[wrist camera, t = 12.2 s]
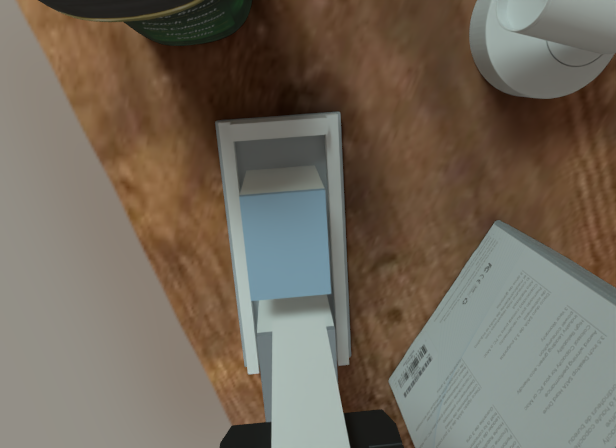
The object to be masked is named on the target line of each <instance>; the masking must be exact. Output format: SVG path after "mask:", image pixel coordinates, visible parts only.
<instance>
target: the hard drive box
mask: <svg viewBox="0 0 616 448" xmlns="http://www.w3.org/2000/svg"><path fill="white" fill-rule="evenodd" d="M389 384H390V386H391V389H392V391H393V394H394V396H395V399H396V401H397V404H398V406H399V409H400V411H401V414H402V416H403V419H404V421H405V424H406V426H407V429H408V431H409V434H410V436H411V439H412V441H413V444H414V446H415V448H616V288H615V287H613V286H612V285H610V284H608V283H607V282H605V281H603V280H602V279H600V278H599V277H597V276H595V275H594V274H592V273H591V272H589V271H587V270H586V269H584V268H583V267H581V266H579V265H578V264H576V263H575V262H573V261H572V260H570V259H568V258H566V257H565V256H563V255H561V254H560V253H558V252H556V251H554V250H553V249H551V248H549V247H547V246H546V245H544V244H542V243H540V242H538V241H537V240H535V239H533V238H531V237H529V236H528V235H526V234H524V233H522V232H520V231H519V230H517V229H515V228H513V227H511V226H510V225H508V224H506V223H504V222H502V221H500V220H497V221H495V223H494V224H493V226H492V227H491V229H490V230H489V231H488V233H487V234H486V236H485V237H484V239H483V240H482V242H481V243H480V245H479V247H478V248H477V249H476V250H475V252H474V253H473V255H472V256H471V258H470V259H469V261H468V262H467V263H466V265H465V266H464V268H463V269H462V271H461V273H460V275H459V276H458V278H457V279H456V280H455V282H454V283H453V285H452V286H451V288H450V289H449V291H448V292H447V294H446V295H445V297H444V298H443V300H442V301H441V303H440V304H439V306H438V307H437V309H436V310H435V312H434V313H433V315H432V316H431V317H430V319H429V320H428V322H427V323H426V325H425V326H424V328H423V330H422V331H421V332H420V334H419V335H418V336H417V337H416V339H415V340H414V342H413V343H412V345H411V346H410V348H409V349H408V351H407V352H406V354H405V356H404V358H403V359H402V361H401V362H400V364H399V365H398V367H397V368H396V370H395V371H394V372H393V374H392V376H391V377H390V378H389Z"/></svg>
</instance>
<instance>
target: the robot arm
mask: <svg viewBox="0 0 616 448" xmlns="http://www.w3.org/2000/svg"><path fill="white" fill-rule="evenodd" d="M220 448H404V446H403V445H402V440H401V437H400V434H399V432H398V429H397V426H396V423H395V422H394V421H393V420H392V419H391V418H390V417H389V416H388V415H387V414H386V413H385V412H384V411H383V410H382V409H381V410H371V411H361V412H351V413H343V409H342V404H341V399H340V394H339V389H338V384H337V379H336V374H335V369H334V364H333V359H332V354H331V349H330V344H329V339H328V334H327V329H326V324H325V319H324V316H323V317H312V318H300V319H289V320H278V321H272V422H264V423H254V424H244V425H234V426H231V428H230V429H229V431H228V432H227V434H226V435H225V437H224V438H223V440H222V441H221V443H220Z"/></svg>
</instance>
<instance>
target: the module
mask: <svg viewBox="0 0 616 448" xmlns="http://www.w3.org/2000/svg"><path fill="white" fill-rule="evenodd" d="M239 200H240V209H241V218H242V227H243V236H244V245H245V253H246V262H247V271H248V280H249V289H250V298H251V301H258V300H269V299H280V298H292V297H303V296H314V295H325V294H331V282H330V264H329V247H328V229H327V212H326V194H325V188H324V186H323V184H322V181H321V179H320V177H319V174H318V172H317V169H316V167H315V165H310V166H297V167H284V168H272V169H259V170H246V173H245V177H244V181H243V184H242V188H241V192H240V196H239Z"/></svg>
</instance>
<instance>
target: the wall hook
mask: <svg viewBox="0 0 616 448" xmlns="http://www.w3.org/2000/svg"><path fill="white" fill-rule="evenodd" d="M469 35H470V47H471V52H472V56H473V59H474V61H475V64H476V66H477V68H478V70H479V71H480V73H481V74H482V75H483V77H484V78H485V79H486V80H487V81H488V82H489V83H490V84H491V85H492V86H494V87H495V88H497V89H498V90H500V91H502V92H504V93H507V94H510V95H514V96H520V97H529V98H539V99H550V98H557V97H562V96H565V95H568V94H571V93H573V92H575V91H577V90H579V89H581V88H583V87H584V86H586V85H587V84H589V83H590V82H591V81H592V80H594V79H595V78H596V77H597V76H598V75H599V74H600V73H601V72H602V71H603V69H604V68H605V67H606V66H607V64H608V63H609V62H610V60H611V59H612V57H613V55H614V54H615V53H616V0H477V2H476V4H475V7H474V10H473V13H472V17H471V23H470V34H469Z"/></svg>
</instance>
